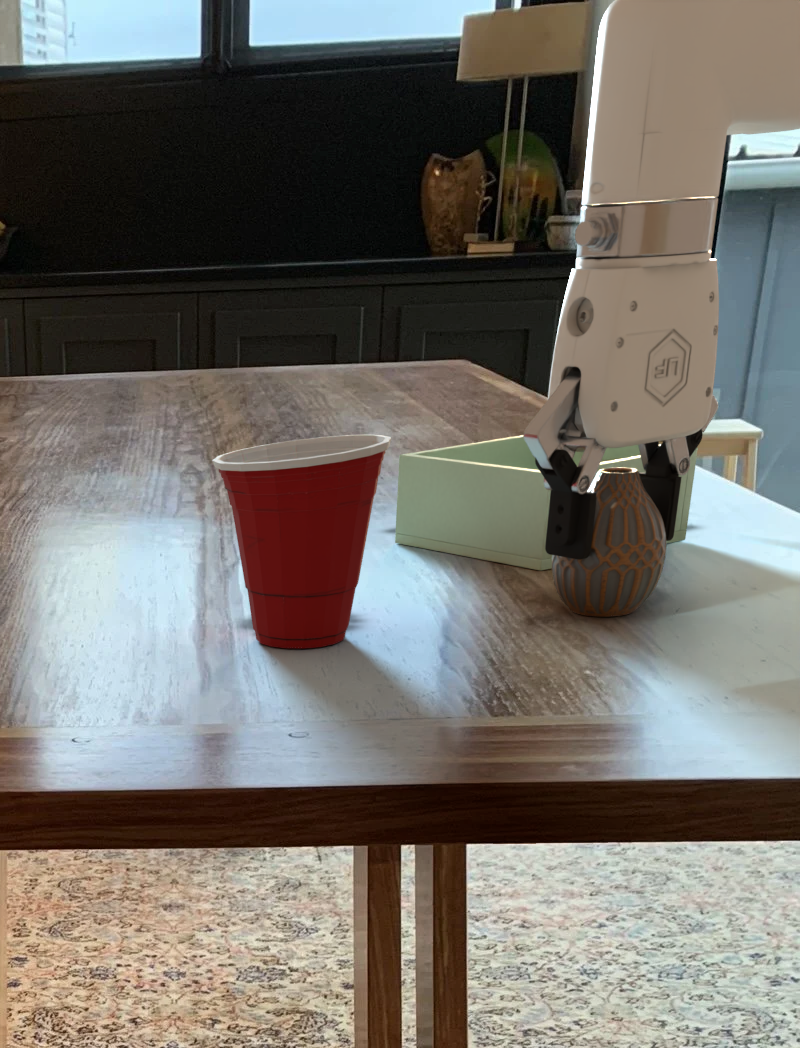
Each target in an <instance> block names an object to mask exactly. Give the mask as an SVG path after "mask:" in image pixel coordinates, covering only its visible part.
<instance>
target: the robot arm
mask: <svg viewBox="0 0 800 1048" xmlns="http://www.w3.org/2000/svg"><path fill="white" fill-rule="evenodd" d="M597 36H598V37H597V42H596V54H595V62H594V72H593V73H594V74H593V83H592V93H591V103H590V114H589V122H588V123H589V124H588V132H587V143H586V144H587V146H586V156H585V165H584V176H583V187H582V197H581V205H582V206H581V207H580V215H579V224H578V225H577V227H576V229H575V231H574V240H575V242H576V244H577V246H576V247H577V248H576V259H575V268H571V272H570V275H569V279H568V282H567V286H566V290H565V294H564V299H563V303H562V307H561V311H560V316H559V321H558V326H557V329H556V331H557V333H556V336H555V341H554V342H555V343H554V348H553V354H552V362H551V368H550V376H549V385H548V392H547V400H546V401H545V403H544V404H543V405H542V406H541V408H540V409H539V410H538V412H536V414H534V416H533V418H532V419H531V420H530V422H529V423H528V424H527V426H526V427H525V428H524V430H523V433H522V435H523V437H524V440H525V442H526V444H527V446H528V447H529V449H530V451H531V453H532V455H533V456H534V457H535V464H536V466H537V468H538V469H539V471H540V472H541V474H542V475H543V477H544V487H545V488H546V489H548V490H551V494H550V504H549V514H548V525H547V535H546V545H545V550H546V552H547V553H548V554H550V555H556V556H561V557H567V558H572V559H578V560H581V559H585V558H588V557H589V555H590V553H591V545H592V536H593V527H594V518H595V509H596V500H597V498H596V494H597V493H594V492H587V491H588V490H589V488H590V486H591V484H592V481H593V479H594V477H595V474H596V472H597V470H598V467H599V465H600V463H601V460H602V458H603V455H604V453H605V451H606V448H607V447H609V448H620V447H627V446H633V445H638V447H639V451H640V456H641V460H642V464H643V468H644V470H645V471H646V473H645V472H639V475H640V479H641V482H642V484H643V487H644V488H645V490H646V492H647V493H648V495H649V496H650V498H651V499H652V501H653V502H654V504H655V505H656V507H657V509H658V510H659V512H660V514H661V517H662V519H663V523H664V527H665V533H666V541H670V540H672V538H673V536H674V530H675V523H676V515H677V508H678V500H679V493H680V485H681V478H682V477H679V475H680V476H683V475H685V474H686V473H687V472H688V470H689V468H690V457H691V455H692V454H693V452H694V451H695V450H696V448H698V447H699V446H700V444H701V442H702V439H703V435H704V434H703V433H705V431H706V429H707V428H708V427H709V425H710V423H711V422H712V420H713V419H714V417H715V415H716V414H717V412H718V410H719V402H718V399H717V398H716V396H715V394H714V386H715V378H716V377H715V376H716V366H717V356H718V355H717V354H718V340H719V338H718V337H719V323H720V322H719V320H720V289H719V272H718V261H717V259H716V258H711V257H712V250H713V249H712V248H713V241H714V234H715V226H716V220H717V211H718V204H719V198H718V197H719V195H720V187H721V180H722V173H723V164H724V157H725V151H726V143H727V136H734V135H759V134H768V133H769V134H770V133H780V132H789V131H795V130H800V0H613V1H612V2H611V3H610V4H609V5H608V7H607V8H606V10H605V11H604V14H603V16H602V18H601V20H600V24H599V28H598V35H597ZM660 442H661V443H660ZM659 444H661V445H660V446H659ZM575 452H584V453H583V455H582V457H581V460H580V462H579V465H578V467H577V465H576V464H575V462H574V461H573V457H574V455H575Z"/></svg>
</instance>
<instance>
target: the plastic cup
mask: <svg viewBox="0 0 800 1048" xmlns="http://www.w3.org/2000/svg"><path fill="white" fill-rule="evenodd" d="M391 442H392V437H391V436H387V435H383V434H346V435H331V436H320V437H312V438H302V439H293V440H287V441H281V442H273V443H268V444H267V443H266V444H261V445H256V446H251V447H247V448H242V449H237V450H233V451H230V452H226V453H223V454H220V455H217V456H215V458H213V459H212V460H211V462H212V464H213V467H214V468H216V469H218V473H220V477H221V479H222V480H223V485H224V489H225V490H226V491H227V496H228V497H227V498H228V501H229V505H230V506H231V508H232V509H231V511H232V515H233V521H234V522H233V523H234V528H235V534H236V540H237V546H238V551H239V557H240V564H241V568H242V569H241V570H242V575H243V581H244V587H245V589H246V590H247V595H248V596H247V597H248V605H249V609H250V610H249V611H250V616H251V617H250V618H251V623H252V630H254V633H255V639H256V641H258V643H259V644H261V645H265V646H268V647H272V648H273V647H274V648H281V649H301V650H302V649H314V648H322V647H327V646H332V645H336V644H338V643H340V642H342V641H344V639H345V636H346V633H347V630H348V627H349V626H350V619H351V615H352V609H353V604H354V598H355V593H356V588H357V586H358V584H359V579H360V574H361V570H362V563H363V558H364V554H365V549H366V542H367V536H368V531H369V525H370V520H371V515H372V510H373V505H374V504H373V503H374V498H375V495H376V494H377V488H378V484H379V483H378V482H379V476H380V475H381V470H382V463H383V461H384V458H385V456H384V455H385V454H386V451H388V449H389V448H390V445H391Z"/></svg>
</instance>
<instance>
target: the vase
mask: <svg viewBox="0 0 800 1048" xmlns="http://www.w3.org/2000/svg"><path fill="white" fill-rule="evenodd" d="M587 492H594V493H597V494H596V498H597V500H596V509H595V518H594V527H593V536H592V545H591V553H590V555H589V557H588V558H585V559H581V560H578V559H572V558H567V557H561V556H556V555H552V568H551V573H552V580H553V585H554V587H555V591H556V594H557V596H559V598H560V600H561V602H562V603H563V604H564V605H565V606H566V607H567V608H568V609H569V610H570V611H571V612H572V613H574V614H577V615H582V616H586V617H598V618H599V617H600V618H601V617H602V618H611V617H621V616H626V615H629V614H632V613H635V611H637V609H639V608H640V607H641V606H642V605H643V604H644V603H646V601H647V600H648V599H649V598H650V597H651V596H652V594H653V593H654V591H655V590H656V588H657V585H658V584H659V581H660V579H661V576H662V574H663V570H664V566H665V563H666V562H665V561H666V555H667V544H666V533H665V527H664V523H663V519H662V517H661V514H660V512H659V510H658V509H657V507H656V505H655V504H654V502H653V501H652V499H651V498H650V496H649V495H648V493H647V492H646V490H645V488H644V487H643V484H642V482H641V479H640V475H639V472H638V470H636V469H633V468H605V469H601V470H599V471H598V472H597V474H596V476H595V478H594V480H593V482H592V484H591V486H590V488H589V490H588V491H587Z"/></svg>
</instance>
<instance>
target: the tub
mask: <svg viewBox="0 0 800 1048" xmlns="http://www.w3.org/2000/svg"><path fill="white" fill-rule="evenodd" d="M661 444H662V443H659V446H660V445H661ZM698 451H699V448H698V447H697V448H696V450H695V451H694V452H693V454H692V455H691V457H690V468H689V470H688V472H687V473H686V474H685V475H683V476H680V475H679V477H682V478H681V485H680V493H679V500H678V508H677V515H676V523H675V530H674V536H673V538H672V540H670V541H666V545H667V544H672V543H677V542H682V541H685V540H686V538H687V529H688V522H689V516H690V508H691V501H692V493H693V487H694V479H695V473H696V472H695V471H696V466H697V465H696V464H697V459H698V458H697V457H698ZM583 453H584V452H575V455H574V457H573V461H574V462H575V464H576V465H577V467H578V465H579V462H580V460H581V457H582V455H583ZM605 468H633V469H636V470H638V472H645V473H646V471H645V470H644V468H643V464H642V460H641V456H640V451H639V447H638V445H633V446H627V447H620V448H609V447H607V448H606V451H605V453H604V455H603V458H602V460H601V463H600V465H599V467H598V470H597V472H598V471H599V470H601V469H605ZM597 472H596V474H597ZM596 474H595V476H596ZM594 478H595V477H594ZM593 480H594V479H593ZM592 482H593V481H592ZM396 492H397V496H396V514H395V531H394V532H395V535H394V543H395V544H399V545H404V546H409V547H415V548H419V549H424V550H425V549H426V550H430V551H435V552H441V553H446V554H452V555H456V556H462V557H466V558H467V557H468V558H472V559H476V560H482V561H488V562H493V563H499V564H504V565H508V566H513V567H519V568H525V569H530V570H535V571H538V572H539V571H546V570H550V569H551V570H552V555H550V554H548V553H547V552H546V550H545V545H546V535H547V525H548V514H549V504H550V494H551V490H548V489H546V488H545V487H544V477H543V475H542V474H541V472H540V471H539V469H538V468H537V466H536V464H535V457H534V456H533V455H532V453H531V451H530V449H529V447H528V446H527V444H526V442H525V440H524V437H523V434H521V435H515V436H509V437H502V438H501V437H500V438H495V439H490V440H482V441H478V442H471V443H470V442H469V443H465V444H458V445H452V446H447V447H440V448H433V449H427V450H420V451H414V452H410V453H409V452H408V453H403V454H399V456H398V475H397V491H396Z"/></svg>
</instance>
